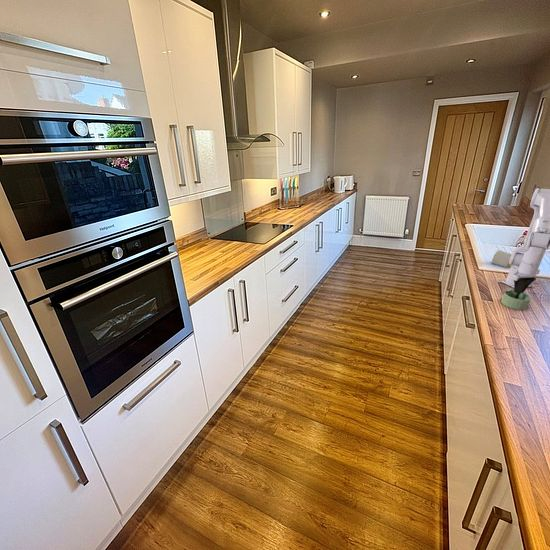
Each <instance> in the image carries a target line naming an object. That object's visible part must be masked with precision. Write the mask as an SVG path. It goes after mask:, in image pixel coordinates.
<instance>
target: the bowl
mask: <svg viewBox="0 0 550 550" xmlns="http://www.w3.org/2000/svg"><path fill="white" fill-rule="evenodd" d="M515 295H516V292H514V289H507V290H504V292H503V294H502V296H501V299H500V302H501V304H502V305H504V306H505V307H507V308H510V309H513V310H519V311H524V310H527V309H528V308H529V304H530V302H531V300H532V297H531V296H530V295H529V294H528V293H525V292H523V293H521V294H520V295H519V298H518V299H515Z"/></svg>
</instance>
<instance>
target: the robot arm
mask: <svg viewBox="0 0 550 550" xmlns="http://www.w3.org/2000/svg"><path fill="white" fill-rule="evenodd" d="M529 208H532V210H533V216H532V219H531V222H530V224H529V228H528V230H527V233H526V236H525V238H524V240H523V244H522V245H520V246H517V247H515V248H514V249H513V251H512V253H510V254H511V257H510V260H509V264H510V265H511V266H510V267H509V271H508V274H507V277H506V279H503V280H500V282H501V283H503V284H505V285H507V286H509V287H511V288H513V290H514V292H516V293H518V294H521V293H525V292H526V290H527V289H528V288H530V287H533V285H532V283H534V282H536V280H537V278H536V277H537V275H539V274H540V272H541V270H540V269H539V267H540V265H541V263H542V262H543V257H544V255H545V254H546V250H548V249H549V248H550V188H539V187H537V188H536V189H534V192H533V194H532V196H531V200H530V203H529Z"/></svg>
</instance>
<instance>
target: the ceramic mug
mask: <svg viewBox="0 0 550 550" xmlns="http://www.w3.org/2000/svg"><path fill="white" fill-rule="evenodd" d="M511 254H512V253H510V252H506V251H503V250H500V249H499V250H496V252H494V254H493V256H492V258H491V264H493V265H496V266H501V267H504V268H511V265H510V264H509V260H510V257H511Z"/></svg>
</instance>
